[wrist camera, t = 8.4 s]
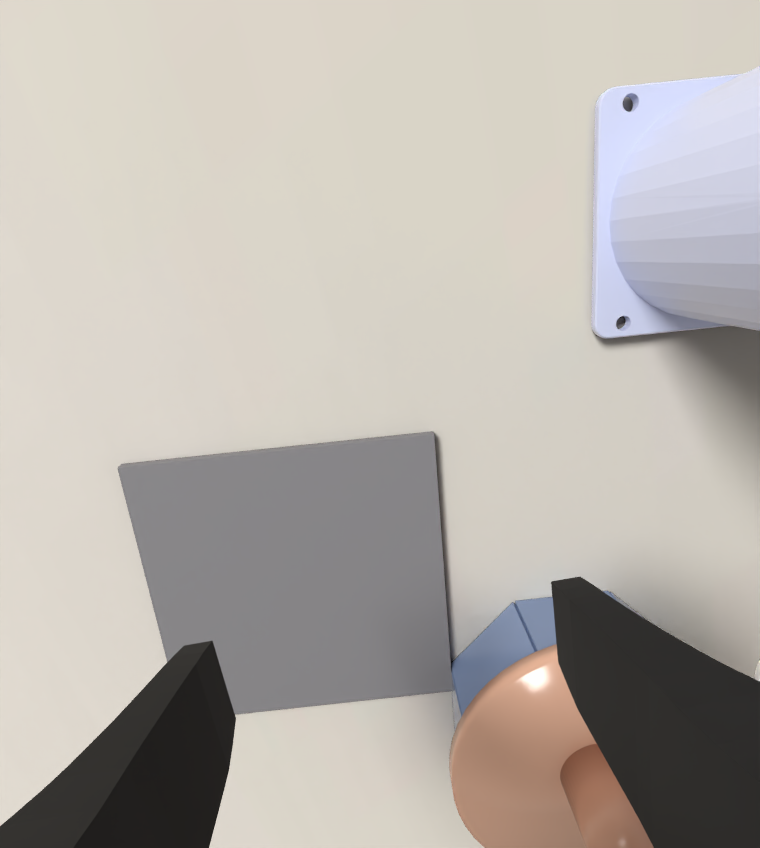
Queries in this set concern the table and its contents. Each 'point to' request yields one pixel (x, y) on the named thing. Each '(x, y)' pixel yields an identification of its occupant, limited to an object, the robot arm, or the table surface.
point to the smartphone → (757, 672)
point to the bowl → (503, 647)
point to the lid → (536, 767)
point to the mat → (300, 567)
